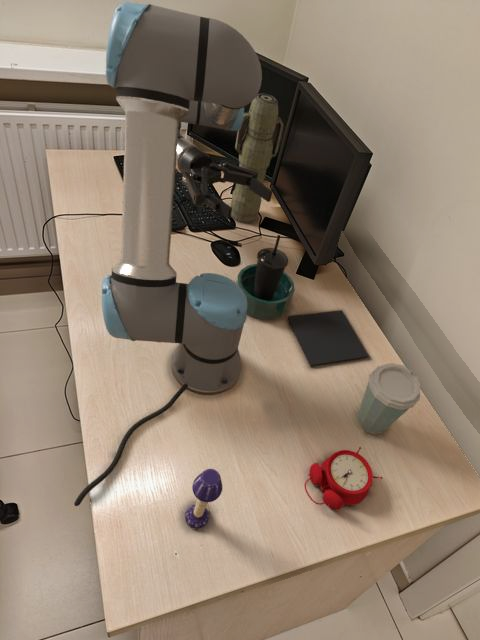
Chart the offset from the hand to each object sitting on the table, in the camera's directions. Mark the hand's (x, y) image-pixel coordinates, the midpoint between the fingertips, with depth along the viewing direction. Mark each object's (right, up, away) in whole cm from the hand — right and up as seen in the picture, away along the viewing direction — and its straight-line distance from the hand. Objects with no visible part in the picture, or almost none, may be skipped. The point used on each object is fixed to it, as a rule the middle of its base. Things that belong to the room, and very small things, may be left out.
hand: (251, 205), depth 107 cm
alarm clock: (+17, -60, -16) cm, 64 cm away
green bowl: (+2, -20, +14) cm, 25 cm away
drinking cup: (+2, -20, +13) cm, 25 cm away
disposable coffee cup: (+26, -49, -5) cm, 56 cm away
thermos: (-3, +8, +37) cm, 38 cm away
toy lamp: (-9, -63, -26) cm, 69 cm away
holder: (+19, -31, +9) cm, 37 cm away
